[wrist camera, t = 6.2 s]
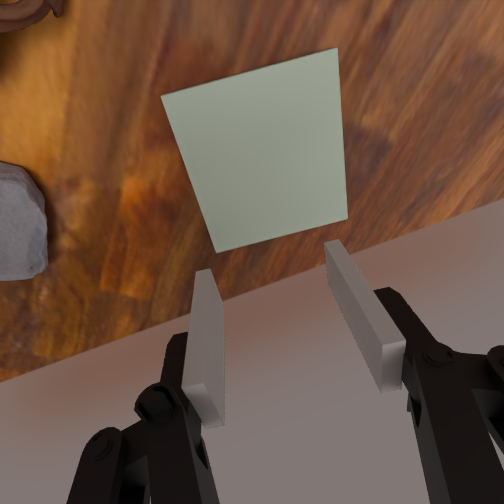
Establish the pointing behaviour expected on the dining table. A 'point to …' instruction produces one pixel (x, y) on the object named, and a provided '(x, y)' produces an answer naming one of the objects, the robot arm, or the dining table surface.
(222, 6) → the dining table surface
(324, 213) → the base
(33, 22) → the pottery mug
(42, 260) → the stone block
